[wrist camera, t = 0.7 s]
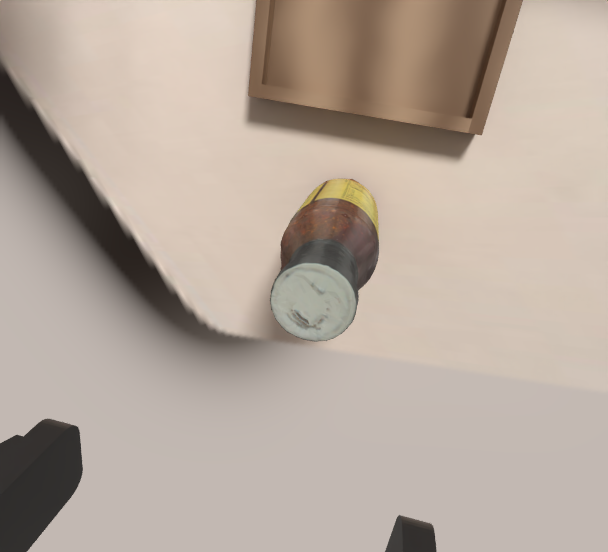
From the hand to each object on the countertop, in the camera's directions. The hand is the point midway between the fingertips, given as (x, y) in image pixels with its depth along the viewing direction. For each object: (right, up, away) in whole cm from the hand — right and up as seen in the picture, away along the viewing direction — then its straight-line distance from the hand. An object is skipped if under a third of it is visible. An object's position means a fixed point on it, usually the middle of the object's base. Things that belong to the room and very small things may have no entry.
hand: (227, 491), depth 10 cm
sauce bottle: (+5, +11, +27) cm, 30 cm away
